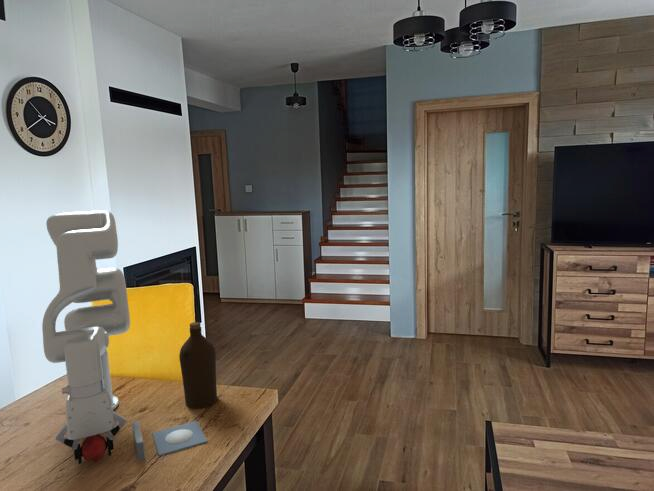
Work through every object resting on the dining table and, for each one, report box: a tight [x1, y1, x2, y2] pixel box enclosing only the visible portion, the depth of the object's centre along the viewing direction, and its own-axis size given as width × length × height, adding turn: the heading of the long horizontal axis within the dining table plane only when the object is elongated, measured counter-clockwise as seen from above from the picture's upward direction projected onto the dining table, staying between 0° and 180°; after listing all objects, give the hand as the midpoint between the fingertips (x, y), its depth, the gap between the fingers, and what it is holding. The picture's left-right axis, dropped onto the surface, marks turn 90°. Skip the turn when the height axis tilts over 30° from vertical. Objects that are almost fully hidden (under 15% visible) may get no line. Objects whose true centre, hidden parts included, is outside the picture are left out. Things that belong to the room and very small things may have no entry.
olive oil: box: [179, 321, 218, 409], centre depth 142 cm, size 11×11×25 cm
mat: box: [152, 420, 208, 457], centre depth 124 cm, size 12×12×1 cm
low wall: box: [131, 420, 146, 463], centre depth 119 cm, size 12×2×5 cm, turn 28°
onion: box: [80, 434, 108, 463], centre depth 114 cm, size 6×6×8 cm
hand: (95, 456), depth 114 cm, fingers closed on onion, 5 cm apart
